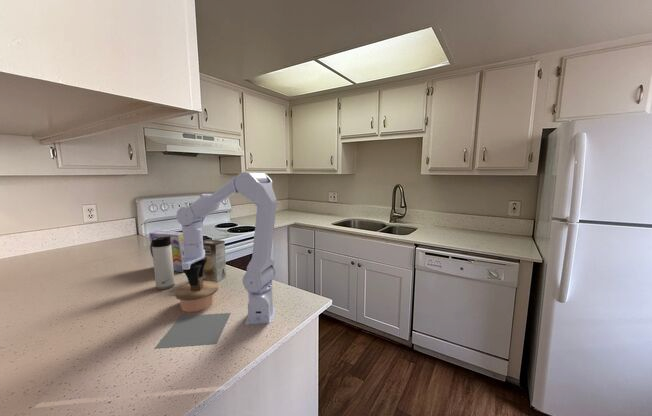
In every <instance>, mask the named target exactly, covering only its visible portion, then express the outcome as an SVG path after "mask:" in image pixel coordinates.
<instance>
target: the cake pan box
mask: <svg viewBox="0 0 652 416" xmlns="http://www.w3.org/2000/svg"><path fill="white" fill-rule="evenodd" d="M148 235H149V240H150V245H149V247H150V248H149V249H150V254H151V257H152V258H153V251H152V240H154V239H157V238H160V237H167V236H170V238H171V247H172V259H173V270H174V272H180V273H184V272H183V270H182V269H181V266H182V263H183V260H184V259H181V257H182V256H184V246H183V234H182V232H181V231H173V230H160V229H159V230H158V229H157V230H155V231H151V232H149V233H148ZM152 262H153V261H152ZM153 264H154V262H153Z"/></svg>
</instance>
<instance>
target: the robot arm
mask: <svg viewBox="0 0 652 416" xmlns="http://www.w3.org/2000/svg"><path fill="white" fill-rule="evenodd" d="M274 191H275V190H274V188H273V180H272V179H271V178H270V177H269V176H268V174H267V173H264V172H262V171H258V172H246V171H241V172H239V173H238V174H237V175H234V176H233V177H232V178H231V179H230V180H229V181H227V182H226V183H225V184H224V185H222V186H221V187H220V188H218V189H217V190H216V191H215V192H214V193H202V194H200V195H199V198H198V199H196V200H195V201H191V202H190V203H189V205H188V206H181V207H179V209H178V210H177V211H176V215H175V216H176V220H177V222H178V223H179V224H180V225H181V231H182V234H183V246H184V256H182V257H181V259H184V260H183V263H182V266H181V269H182V270H183V272H182V273H184V274H185V276H186V278H187V281H188V284H190V286H197V285H198V279H199V277H203V272H204V267H205V264H206V262H207V258H204V257H205V250H204V249H203V240H204V236H203V226H204V221H205V218H206V217H208V216H209V215H210V214H212V213H214V212H215V211H217V210H218V209H219V207H220V203H222V202H224V201H225V200H227V199H229V198H231V197H232V196H235V194H238V193H239V194H241V196H243V197H245V198H247V199H248V200H250V201H251V202H252V203H253V204H254V205H255V206H256V215H255V216H256V217H255V227H254V235H253V236H254V237H253V246H252V255H251V259H250V261H249V263H248V264H247V267H246V272H245V274H244V275H243V277H242V285H243V287H244V289H245V290H246V292H247V293H248V296H247V297H248V303H247V316H246V320H245V322H244V324H245V325H258V324H272V323H274V317H275V311H276V306H274V300H273V295H274V294H273V280H274V279H275V277H276V274H277V273H276V269H275V260H274V259H273V258H271V256H272V247H273V239H274V230H275V223H276V214H277V205H278V202H277V201H278V200H277V196H276V195H275V194H276V193H275V192H274Z"/></svg>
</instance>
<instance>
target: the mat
mask: <svg viewBox="0 0 652 416" xmlns="http://www.w3.org/2000/svg"><path fill="white" fill-rule="evenodd" d="M231 314H232V312H224V313H221V312H220V313H211V314H210V313H209V314H208V313H207V314H194V315H193V314H191V315H189V314H188V315H180V316H179V317H178V318H177V320H176V321H175V322H174V323H173V325H172V326H170V328H169V330H168V331H167V332H166V333H165V335H164V336H163V337H162V339H160V341H159V342H158V343H157V345H156V346H155V347H153V349H154V350H155V349H167V348H168V349H169V348H181V347H193V346H204V345H205V346H206V345H207V346H208V345H217V344H218V341H219V340H220V338H221V336H222V333H223V331H224V329H225V327H226V324H227V323H228V321H229V318H230V317H231Z"/></svg>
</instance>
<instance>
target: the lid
mask: <svg viewBox="0 0 652 416" xmlns="http://www.w3.org/2000/svg"><path fill="white" fill-rule="evenodd" d="M218 290H219V284H218V282H213V281H204V280H203V277H199V279H198V285H197V286H190V284H189V283H186V284H184V285H182V286H180V287H178V288H177V289H176V290H175V291H174V298H175V299H177V300H179V301H180V300H186V301H187V300H197V299H202V298H205V297H208V296H210V295H212V294H214V295H215V293H217V291H218Z"/></svg>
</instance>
